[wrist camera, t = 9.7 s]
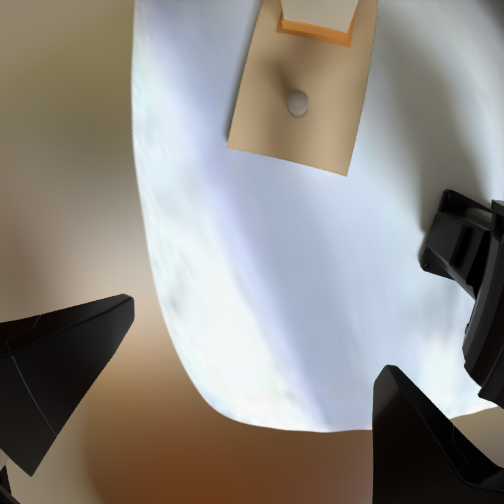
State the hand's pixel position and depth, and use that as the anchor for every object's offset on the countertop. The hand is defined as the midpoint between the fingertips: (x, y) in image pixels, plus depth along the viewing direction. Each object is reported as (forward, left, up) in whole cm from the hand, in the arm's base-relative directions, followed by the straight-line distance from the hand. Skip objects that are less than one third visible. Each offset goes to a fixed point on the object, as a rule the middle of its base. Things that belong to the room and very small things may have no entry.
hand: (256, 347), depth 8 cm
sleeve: (+1, -17, -11) cm, 20 cm away
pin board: (+1, -13, -12) cm, 18 cm away
